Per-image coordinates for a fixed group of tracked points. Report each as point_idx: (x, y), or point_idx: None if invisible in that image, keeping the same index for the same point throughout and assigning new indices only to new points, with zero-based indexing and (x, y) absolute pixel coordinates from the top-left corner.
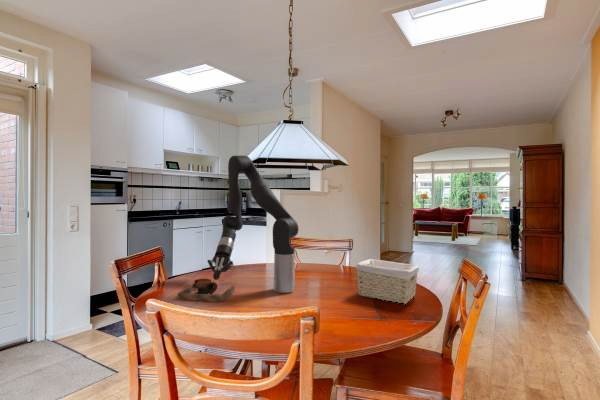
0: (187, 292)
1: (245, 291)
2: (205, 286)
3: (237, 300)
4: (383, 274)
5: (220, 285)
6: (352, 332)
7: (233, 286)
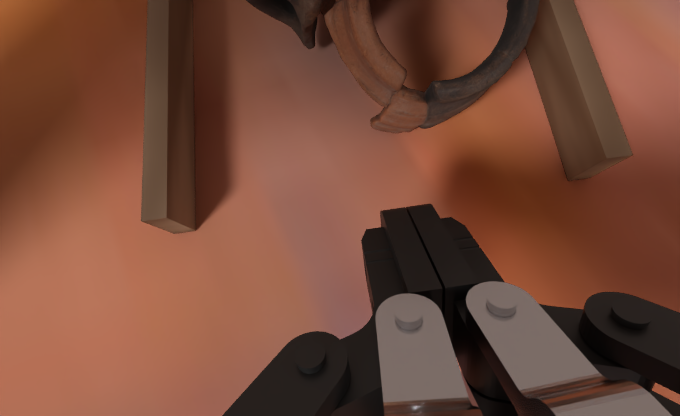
0: None
1: (67, 269)
2: None
3: (82, 27)
4: None
5: None
6: None
7: (143, 193)
